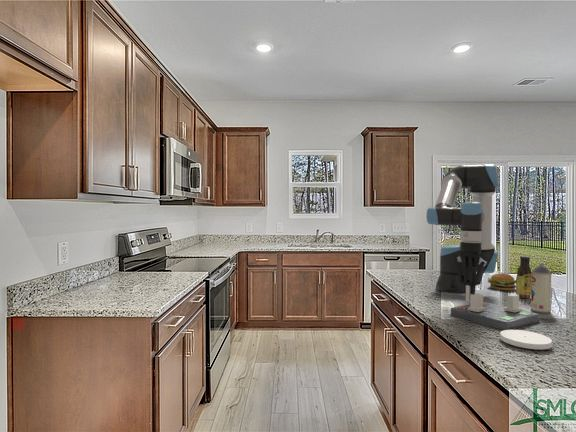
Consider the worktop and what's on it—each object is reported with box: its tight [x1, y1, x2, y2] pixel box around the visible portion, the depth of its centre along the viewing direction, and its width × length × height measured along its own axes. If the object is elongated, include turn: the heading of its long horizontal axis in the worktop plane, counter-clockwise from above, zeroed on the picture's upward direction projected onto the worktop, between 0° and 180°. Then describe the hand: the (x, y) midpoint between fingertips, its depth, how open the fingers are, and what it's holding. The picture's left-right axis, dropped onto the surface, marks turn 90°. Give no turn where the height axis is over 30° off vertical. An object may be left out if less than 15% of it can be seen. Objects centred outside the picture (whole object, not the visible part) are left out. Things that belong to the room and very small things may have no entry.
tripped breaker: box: [468, 292, 485, 312], centre depth 148 cm, size 4×5×6 cm
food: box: [487, 273, 517, 291], centre depth 207 cm, size 14×14×8 cm
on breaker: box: [504, 293, 522, 313], centre depth 148 cm, size 4×5×6 cm
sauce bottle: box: [515, 255, 532, 299], centre depth 186 cm, size 6×6×20 cm
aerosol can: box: [530, 262, 552, 315], centre depth 160 cm, size 7×7×20 cm
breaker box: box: [450, 301, 540, 331], centre depth 149 cm, size 22×22×3 cm
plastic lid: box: [499, 329, 553, 350], centre depth 121 cm, size 14×14×2 cm
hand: (469, 301), depth 151 cm, fingers closed
